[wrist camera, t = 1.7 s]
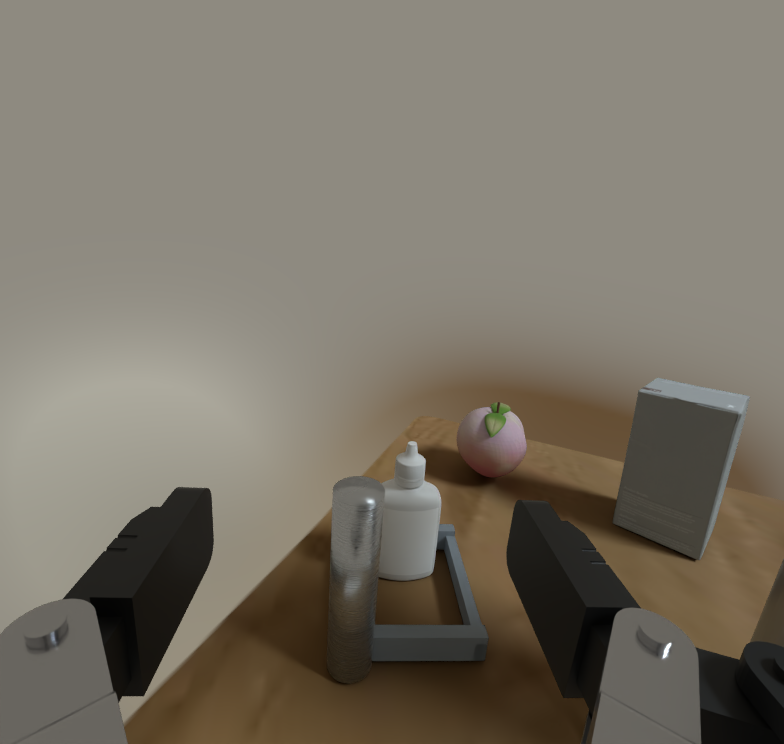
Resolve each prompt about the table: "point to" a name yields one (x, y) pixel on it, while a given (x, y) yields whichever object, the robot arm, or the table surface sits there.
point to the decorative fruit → (492, 440)
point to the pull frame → (359, 593)
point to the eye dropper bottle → (409, 520)
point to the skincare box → (678, 463)
